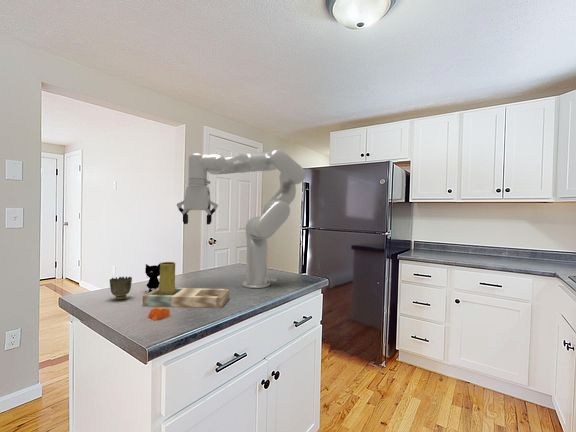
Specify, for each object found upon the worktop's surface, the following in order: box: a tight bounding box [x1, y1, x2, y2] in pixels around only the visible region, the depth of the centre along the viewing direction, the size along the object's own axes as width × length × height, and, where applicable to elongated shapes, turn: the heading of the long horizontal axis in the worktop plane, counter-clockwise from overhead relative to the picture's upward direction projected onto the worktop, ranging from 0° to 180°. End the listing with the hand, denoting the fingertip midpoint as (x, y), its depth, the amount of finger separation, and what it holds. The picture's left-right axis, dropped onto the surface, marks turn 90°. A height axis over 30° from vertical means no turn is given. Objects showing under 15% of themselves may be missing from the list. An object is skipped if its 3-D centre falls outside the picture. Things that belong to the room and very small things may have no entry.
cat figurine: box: [144, 263, 160, 293], centre depth 121 cm, size 7×7×12 cm
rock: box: [147, 306, 171, 321], centre depth 93 cm, size 12×12×4 cm
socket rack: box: [142, 287, 230, 309], centre depth 109 cm, size 28×12×4 cm, turn 89°
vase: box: [159, 261, 176, 295], centre depth 109 cm, size 6×6×14 cm
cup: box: [109, 276, 133, 301], centre depth 110 cm, size 8×7×8 cm
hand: (197, 224), depth 124 cm, fingers open, 9 cm apart
